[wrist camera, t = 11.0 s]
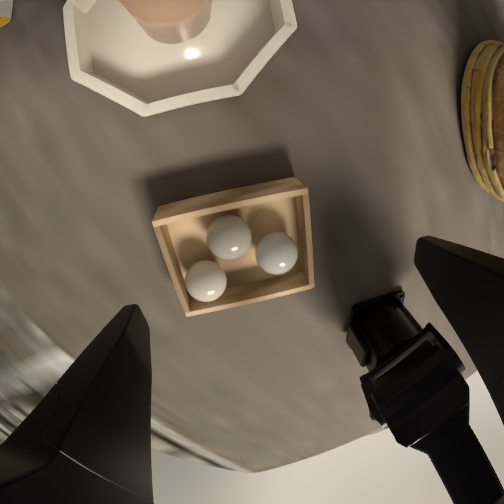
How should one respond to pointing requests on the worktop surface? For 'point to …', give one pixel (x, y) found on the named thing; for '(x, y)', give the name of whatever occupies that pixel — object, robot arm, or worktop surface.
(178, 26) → the spice jar
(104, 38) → the dish
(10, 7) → the medicine bottle
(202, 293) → the pebble
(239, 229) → the pebble
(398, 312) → the robot arm
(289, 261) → the pebble
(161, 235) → the parts tray
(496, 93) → the tankard
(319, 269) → the worktop surface
